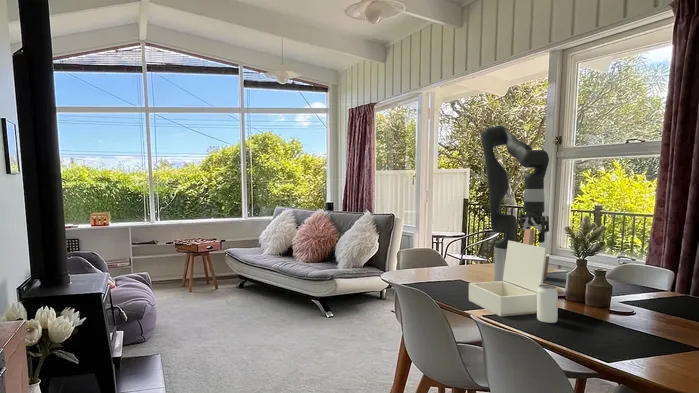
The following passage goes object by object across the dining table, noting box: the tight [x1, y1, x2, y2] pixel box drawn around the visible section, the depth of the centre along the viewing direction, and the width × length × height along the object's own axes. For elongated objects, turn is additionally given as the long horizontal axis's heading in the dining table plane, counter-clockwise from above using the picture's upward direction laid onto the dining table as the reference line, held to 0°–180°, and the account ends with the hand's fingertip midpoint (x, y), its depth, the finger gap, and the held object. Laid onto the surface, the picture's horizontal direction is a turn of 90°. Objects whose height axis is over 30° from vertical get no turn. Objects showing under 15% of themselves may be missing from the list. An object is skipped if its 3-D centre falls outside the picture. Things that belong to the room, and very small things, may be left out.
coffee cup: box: [543, 253, 551, 280], centre depth 213 cm, size 10×10×12 cm
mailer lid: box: [503, 228, 548, 293], centre depth 165 cm, size 23×22×2 cm
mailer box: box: [468, 281, 537, 318], centre depth 163 cm, size 16×22×7 cm
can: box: [536, 284, 559, 324], centre depth 146 cm, size 6×6×12 cm
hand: (533, 241), depth 166 cm, fingers open, 8 cm apart
